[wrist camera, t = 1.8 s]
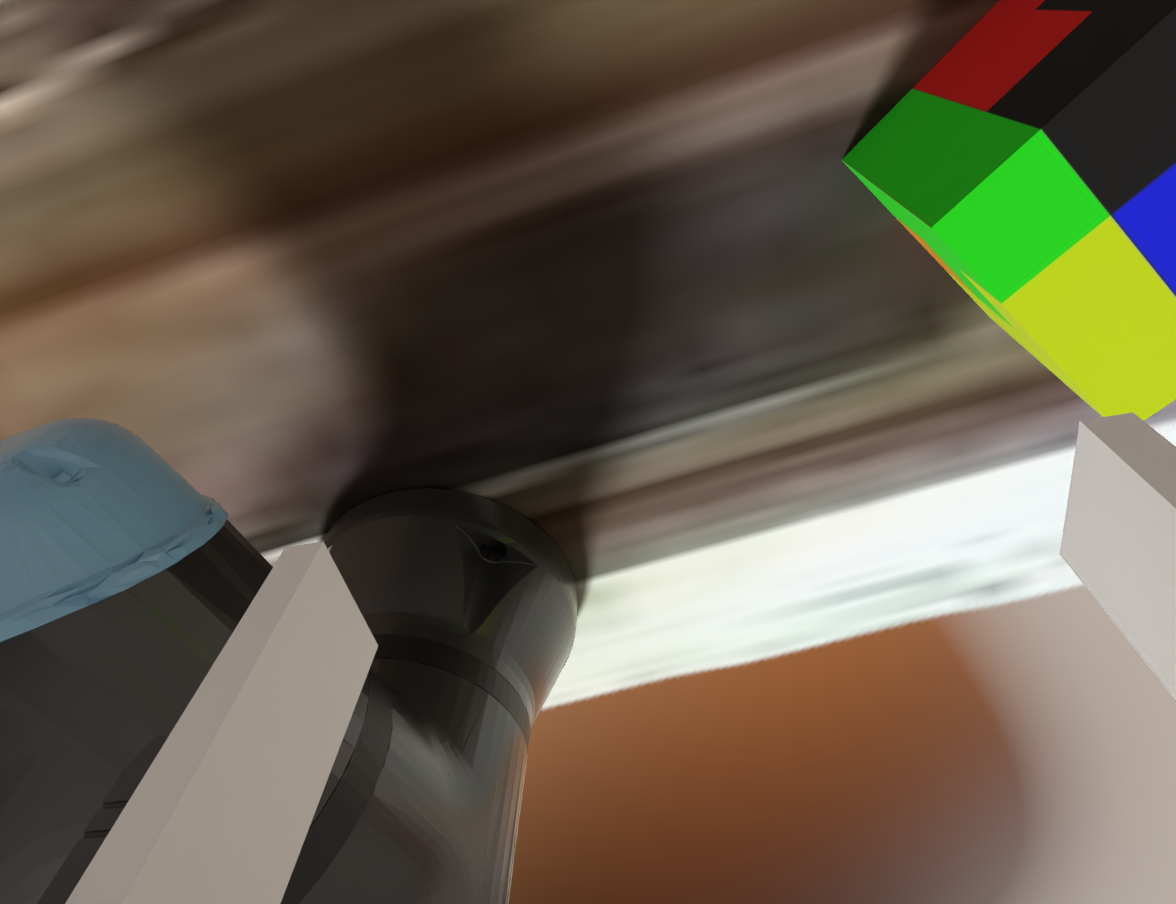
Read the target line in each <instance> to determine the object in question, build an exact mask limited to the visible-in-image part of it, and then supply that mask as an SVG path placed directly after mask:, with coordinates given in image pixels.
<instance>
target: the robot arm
mask: <svg viewBox="0 0 1176 904" xmlns="http://www.w3.org/2000/svg"><path fill="white" fill-rule="evenodd" d="M227 517H228V513H227V512H226V511H225V510H224V509H223V508H222V507H221V506H220V504H219V503H217V502H215V500H214V499H212V498H210V497H208V496H205V495H201V494H200V493H199V492H198V491H197V490H195V489H194V488H193V487H192V486H191V485H190V484H189V483H188V482H187V481H186V480H185V479H184V478H183V477H182V476H180V475H179V474H178V473H177V472H176V471H175V470H174V469H173V468H172V467H171V466H170V465H169V464H168V463H167V462H165V461H164V460H163V459H162V458H161V457H160V456H159V455H158V454H157V453H156V452H155V451H154V450H153V449H152V448H150V447H149V446H148V445H147V444H146V443H145V442H144V441H143V440H142V439H141V438H139V437H138V436H137V435H135V434H134V433H132V432H131V431H129V430H127V429H125V428H124V427H122V426H119V425H117V424H114V423H110V422H107V421H103V420H97V419H91V418H71V419H63V420H58V421H53V422H49V423H46V424H43V425H40V426H37V427H34V428H32V429H29V430H26V431H24V432H21V433H19V434H16V435H14V436H11V437H9V438H6V439H4V440H2V441H0V904H509V896H510V887H511V880H512V872H513V864H514V855H515V848H516V840H517V832H518V825H519V817H520V809H521V802H522V794H523V785H524V778H525V771H526V762H527V752H528V745H529V738H530V732H531V726H532V725H533V722H534V720H535V719H536V717H537V715H538V714H539V712H540V710H541V708H542V706H543V704H544V702H545V701H546V699H547V697H548V695H549V693H550V691H551V689H552V688H553V686H554V684H555V682H556V680H557V678H558V676H559V674H560V672H561V670H562V668H563V667H564V665H565V663H566V661H567V659H568V657H569V655H570V652H571V649H572V646H573V642H574V638H575V631H576V621H577V609H578V594H577V587H576V583H575V579H574V576H573V573H572V570H571V568H570V566H569V564H568V562H567V560H566V559H565V557H564V555H563V554H562V552H561V551H560V549H559V548H558V547H557V546H556V544H555V543H554V542H553V541H552V540H551V539H550V538H549V537H548V536H547V535H546V534H545V533H544V532H543V531H542V530H541V529H540V528H539V527H537V526H536V525H535V524H534V523H532V522H531V521H530V520H528V519H527V518H525V517H524V516H522V515H521V514H519V513H517V512H516V511H514V510H512V509H510V508H508V507H506V506H504V505H502V504H499V503H497V502H495V501H492V500H489V499H487V498H484V497H480V496H477V495H474V494H470V493H465V492H460V491H455V490H447V489H434V488H420V489H408V490H400V491H395V492H391V493H387V494H383V495H380V496H377V497H374V498H372V499H369V500H367V501H365V502H363V503H361V504H359V505H357V506H355V507H354V508H352V509H351V510H349V511H348V512H347V513H345V514H344V515H343V516H342V517H341V518H340V519H338V520H337V521H336V522H335V524H334V525H333V526H332V527H331V528H330V530H329V531H328V533H327V534H326V535H325V537H324V539H323V541H322V542H317V543H311V544H304V545H298V546H292V547H286V548H285V549H284V551H283V552H282V554H281V556H280V557H279V559H278V560H277V562H276V564H275V565H274V567H272V566H271V565H270V564H269V563H268V561H267V560H266V559H265V558H264V557H263V556H262V555H261V554H260V553H259V552H258V551H257V550H256V549H255V548H254V547H253V546H252V545H251V544H250V543H249V542H248V541H247V540H246V539H245V538H244V537H243V536H242V535H241V533H240V532H239V531H238V530H237V529H236V528H235V527H234V526H233V525H232V524H231V523H230V522H229V521H228V520H227ZM1060 555H1061V556H1062V557H1063V559H1064V560H1065V561H1066V563H1067V564H1068V565H1069V566H1070V568H1071V569H1072V570H1073V571H1074V573H1075V574H1076V575H1077V576H1078V578H1079V579H1080V580H1081V581H1082V583H1083V584H1084V585H1085V586H1086V588H1087V589H1088V590H1089V592H1090V593H1091V594H1092V595H1093V597H1094V598H1095V599H1096V600H1097V601H1098V603H1099V604H1100V605H1101V607H1102V608H1103V609H1104V610H1105V612H1106V613H1107V614H1108V615H1109V617H1110V618H1111V619H1112V620H1113V622H1114V623H1115V624H1116V626H1117V627H1118V628H1119V629H1120V631H1121V632H1122V633H1123V634H1124V636H1125V637H1126V638H1127V639H1128V641H1129V642H1130V643H1131V645H1132V646H1133V647H1134V648H1135V649H1136V651H1137V652H1138V653H1139V655H1140V656H1141V657H1142V658H1143V660H1144V661H1145V662H1146V663H1147V665H1148V666H1149V667H1150V668H1151V670H1152V671H1153V672H1154V673H1155V675H1156V676H1157V677H1158V679H1159V680H1160V681H1161V682H1162V684H1163V685H1164V686H1165V687H1166V689H1167V690H1168V691H1169V692H1170V694H1171V695H1172V696H1173V697H1174V699H1175V700H1176V447H1175V446H1174V445H1173V444H1171V443H1170V442H1169V441H1168V440H1166V439H1165V438H1164V437H1163V436H1161V435H1160V434H1159V433H1158V432H1156V431H1155V430H1154V429H1153V428H1152V427H1150V426H1149V425H1148V424H1147V423H1145V422H1144V421H1143V420H1142V419H1140V418H1139V417H1138V416H1137V415H1135V414H1134V413H1126V414H1120V415H1114V416H1107V417H1101V418H1095V419H1089V420H1082V421H1080V423H1079V430H1078V436H1077V443H1076V450H1075V457H1074V463H1073V470H1072V477H1071V483H1070V490H1069V497H1068V503H1067V510H1066V517H1065V524H1064V530H1063V537H1062V544H1061V550H1060Z"/></svg>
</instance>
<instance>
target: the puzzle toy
mask: <svg viewBox="0 0 1176 904" xmlns="http://www.w3.org/2000/svg"><path fill="white" fill-rule="evenodd" d="M842 161H843V162H844V163H845V164H846V165H847V166H848V167H849V168H850V170H851V171H852V172H853V173H854V174H855V175H856V176H857V177H858V178H859V179H860V180H861V181H862V182H863V183H864V184H865V185H866V186H867V188H868V189H869V190H870V191H871V192H872V193H873V194H874V195H875V196H876V197H877V198H878V199H879V200H880V201H881V202H882V203H883V205H884V206H885V207H886V208H887V209H888V210H889V211H890V212H891V213H892V214H893V215H894V216H895V217H896V218H897V219H898V220H899V221H900V223H901V224H902V225H903V226H904V227H905V228H906V229H907V230H908V231H909V232H910V233H911V234H912V235H913V236H914V237H915V238H916V239H917V241H918V242H919V243H920V244H921V245H922V246H923V247H924V248H925V249H926V250H927V251H928V252H929V253H930V254H931V255H932V256H933V257H934V259H935V260H936V261H937V262H938V263H939V264H940V265H941V266H942V267H943V268H944V269H945V270H946V271H947V272H948V273H949V274H950V276H951V277H952V278H953V279H954V280H955V281H956V282H957V283H958V284H959V285H960V286H961V287H962V288H963V289H964V290H965V291H966V292H967V294H968V295H969V296H970V297H971V298H972V299H973V300H974V301H975V302H976V303H977V304H978V305H979V306H980V307H981V308H982V309H983V310H984V312H985V313H986V314H987V315H988V316H989V317H990V318H991V319H992V320H993V321H994V322H996V323H997V324H998V325H999V326H1000V327H1001V328H1002V329H1004V330H1005V331H1006V332H1007V333H1008V334H1009V335H1010V336H1011V337H1013V338H1014V339H1015V340H1016V341H1017V342H1018V343H1019V344H1021V345H1022V346H1023V347H1024V348H1025V349H1026V350H1027V351H1029V352H1030V353H1031V354H1032V355H1033V356H1034V357H1035V358H1036V359H1038V360H1039V361H1040V362H1041V363H1042V364H1043V365H1044V366H1046V367H1047V368H1048V369H1049V370H1050V371H1051V372H1052V373H1053V374H1055V375H1056V376H1057V377H1058V378H1059V379H1060V380H1061V381H1063V382H1064V383H1065V384H1066V385H1067V386H1068V387H1069V388H1071V389H1072V390H1073V391H1074V392H1075V393H1076V394H1077V395H1078V396H1080V397H1081V398H1082V399H1083V400H1084V401H1085V402H1086V403H1088V404H1089V405H1090V406H1091V407H1092V408H1093V409H1094V410H1095V411H1097V412H1098V413H1099V414H1100V415H1101V416H1102V417H1107V416H1114V415H1120V414H1126V413H1134V414H1135V415H1137V416H1138V417H1139V418H1140V419H1142V420H1143V421H1144V420H1145V419H1147V418H1148V417H1150V416H1151V415H1153V414H1154V413H1156V412H1157V411H1159V410H1160V409H1162V408H1163V407H1165V406H1166V405H1168V404H1169V403H1171V402H1172V401H1174V400H1175V399H1176V0H999V1H998V2H997V3H996V4H995V5H994V6H993V7H992V8H991V9H990V10H989V11H988V12H987V13H986V14H985V15H984V16H983V17H982V19H981V20H980V21H979V22H978V23H977V24H976V25H975V26H974V27H973V28H972V29H971V30H970V31H969V32H968V33H967V34H966V35H965V36H964V37H963V38H962V39H961V40H960V41H959V42H958V43H957V44H956V45H955V46H954V47H953V48H952V49H951V50H950V51H949V52H948V53H947V54H946V55H945V56H944V57H943V58H942V59H941V60H940V61H939V62H938V63H937V64H936V65H935V66H934V67H933V68H932V69H931V70H930V71H929V72H928V73H927V74H926V75H925V76H924V77H923V78H922V79H921V80H920V81H919V82H918V83H917V84H916V85H915V86H914V87H913V88H912V89H911V90H910V91H909V92H908V93H907V94H906V95H905V96H904V97H903V98H902V99H901V100H900V101H899V102H898V103H897V105H896V106H895V107H894V108H893V109H892V110H891V111H890V112H889V113H888V114H887V115H886V116H885V117H884V118H883V119H882V120H881V121H880V122H879V123H878V124H877V125H876V126H875V127H874V128H873V129H872V130H871V131H870V132H869V133H868V134H867V135H866V136H865V137H864V138H863V139H862V140H861V141H860V142H859V143H858V144H857V145H856V146H855V147H854V148H853V149H852V150H851V151H850V152H849V153H848V154H847V155H846V156H845V157H844V158H843V159H842Z"/></svg>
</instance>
